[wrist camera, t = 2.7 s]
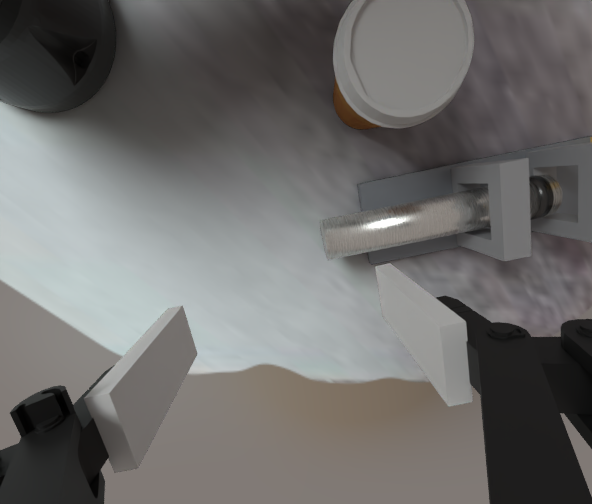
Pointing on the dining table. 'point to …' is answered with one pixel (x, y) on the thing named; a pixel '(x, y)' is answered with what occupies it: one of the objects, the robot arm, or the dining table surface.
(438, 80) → the disposable coffee cup
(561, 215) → the collar bench
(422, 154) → the dining table surface
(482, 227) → the aluminium tube
